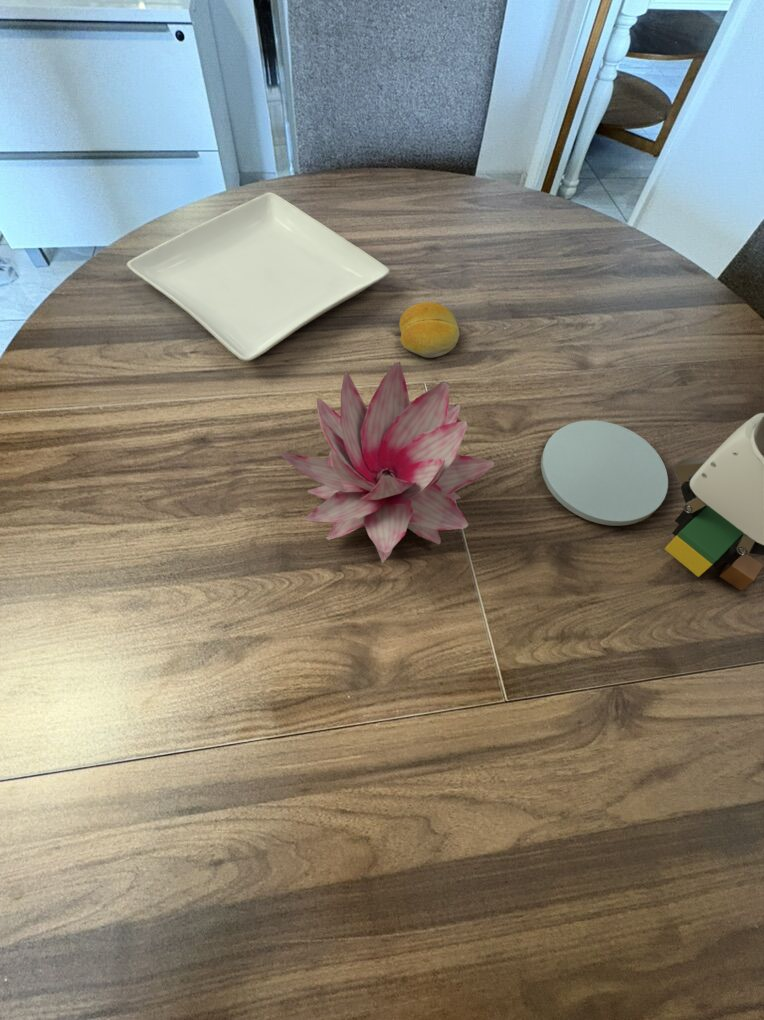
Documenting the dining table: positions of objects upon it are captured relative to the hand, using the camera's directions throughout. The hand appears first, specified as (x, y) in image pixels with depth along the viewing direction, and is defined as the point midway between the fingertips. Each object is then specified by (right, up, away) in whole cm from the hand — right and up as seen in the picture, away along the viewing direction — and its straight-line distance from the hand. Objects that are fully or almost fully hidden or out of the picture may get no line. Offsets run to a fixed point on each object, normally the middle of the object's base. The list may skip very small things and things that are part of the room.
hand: (701, 543), depth 68 cm
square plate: (-53, +37, +23) cm, 69 cm away
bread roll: (-29, +28, +18) cm, 45 cm away
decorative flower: (-35, +5, +3) cm, 36 cm away
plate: (-9, +8, +7) cm, 14 cm away
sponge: (0, 0, 0) cm, 0 cm away
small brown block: (+3, -2, -1) cm, 4 cm away
